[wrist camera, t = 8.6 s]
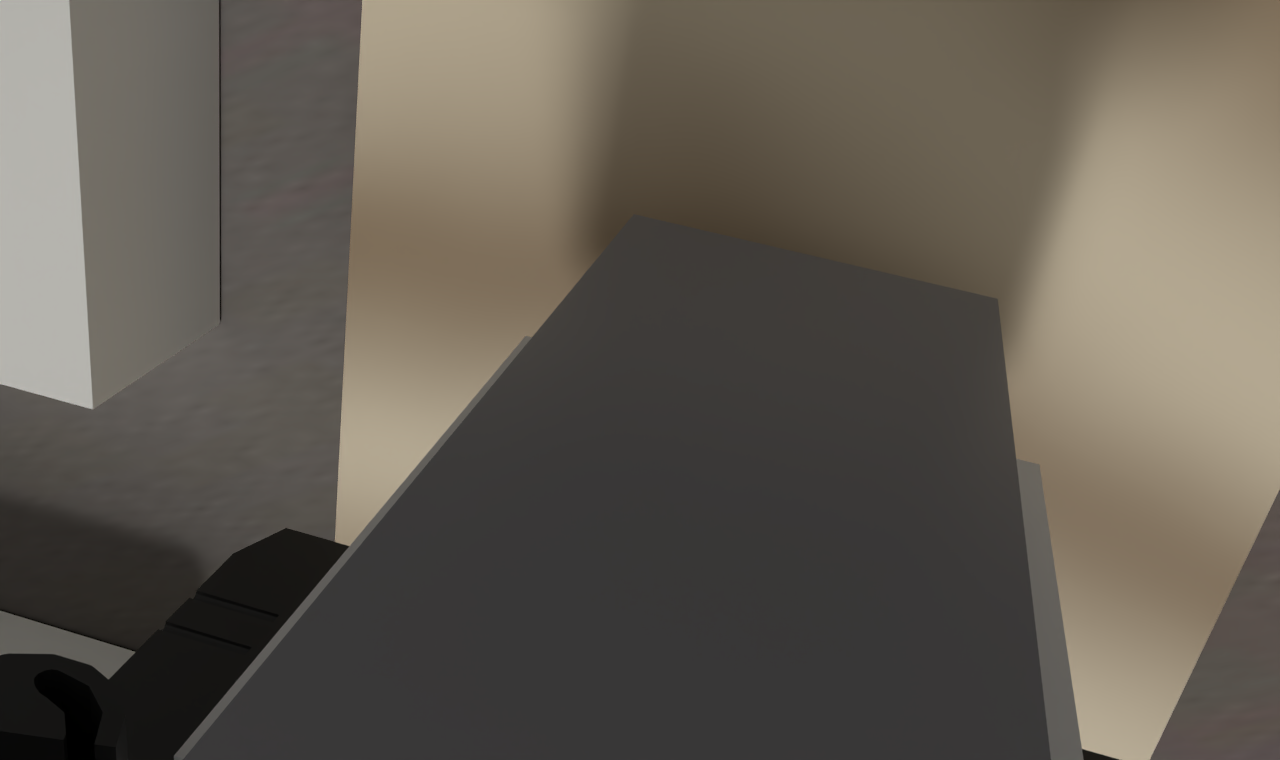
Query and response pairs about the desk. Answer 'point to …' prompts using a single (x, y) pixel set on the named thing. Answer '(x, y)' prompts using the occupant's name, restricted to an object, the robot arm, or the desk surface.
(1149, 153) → the birch board
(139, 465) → the desk surface
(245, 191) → the desk surface
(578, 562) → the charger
